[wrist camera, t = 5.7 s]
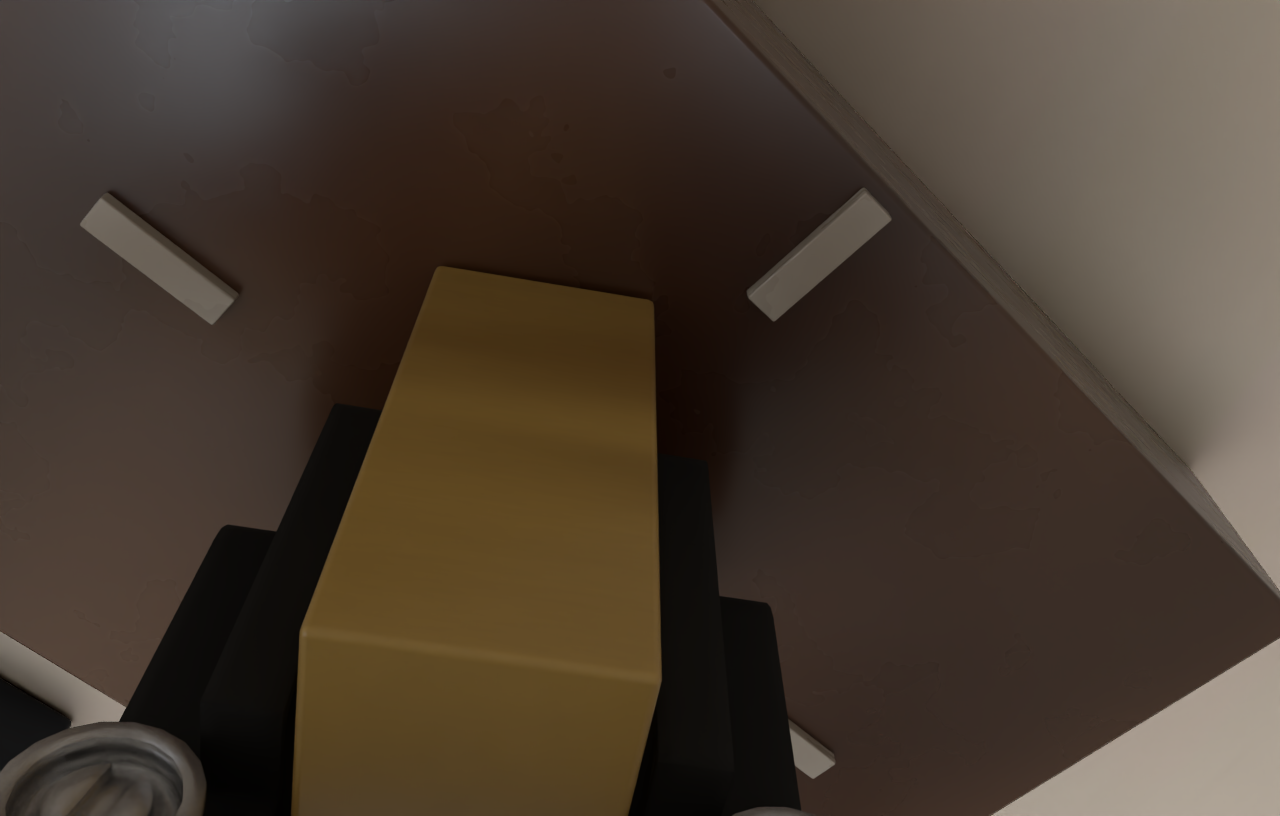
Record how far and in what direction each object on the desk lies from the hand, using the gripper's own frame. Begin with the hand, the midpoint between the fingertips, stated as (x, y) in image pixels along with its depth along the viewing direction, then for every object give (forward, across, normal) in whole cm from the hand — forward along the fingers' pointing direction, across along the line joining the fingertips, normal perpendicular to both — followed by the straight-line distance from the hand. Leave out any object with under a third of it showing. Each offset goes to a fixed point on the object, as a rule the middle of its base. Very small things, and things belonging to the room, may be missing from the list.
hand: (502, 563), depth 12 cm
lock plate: (+4, 0, 0) cm, 4 cm away
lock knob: (+1, 0, 0) cm, 1 cm away
